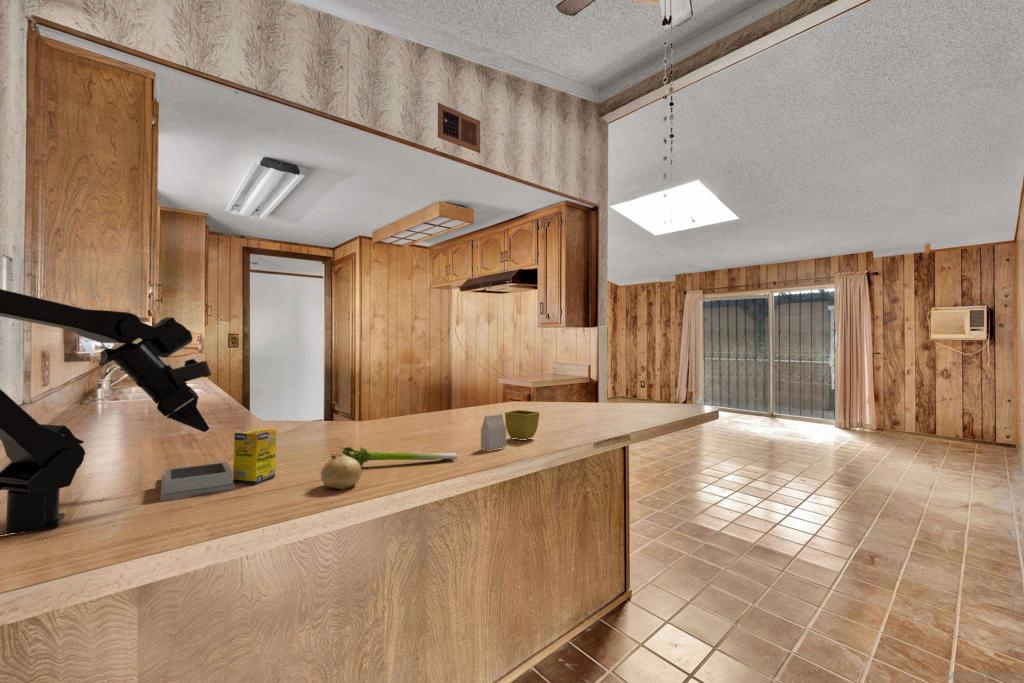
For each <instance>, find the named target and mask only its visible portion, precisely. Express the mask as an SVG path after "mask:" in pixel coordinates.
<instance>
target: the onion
mask: <svg viewBox="0 0 1024 683" xmlns="http://www.w3.org/2000/svg"><path fill="white" fill-rule="evenodd" d="M340 453H341V454H340ZM340 453H334V454H333V453H330V455H331V456H330V458H331V459H330V460H328V461H327V462H326V463H325V465H324V466H323V467H322V469H321V472H320V477H321V481H322V483H323V484H324V486H326V487H327V488H332V489H336V490H346V489H350V488H351V487H353V486H355V485H356V484H357V483H358V481H359V480H361V477H362V474H363V473H362V467H360V464H359V463H358V462H357V461H356V460H355V459H353V458H351V457H349V456H346V455H344V454H343V452H340Z"/></svg>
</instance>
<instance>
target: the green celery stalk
mask: <svg viewBox="0 0 1024 683" xmlns="http://www.w3.org/2000/svg"><path fill="white" fill-rule="evenodd" d="M358 448H359V450H355V449H353V447H352V446H347V447H341V446H339V449H340V450H342V451H341V452H340V453H339V454H341V453H343V454H344V455H346V456H349V457H351V458H353V459H355V460H356V461H357V462H358V463H359V464H360V467H361V468H363V465H364V463H368V461H392V460H393V461H397V460H398V461H402V460H403V461H405V460H406V461H410V460H411V461H417V460H419V461H421V460H422V461H423V460H424V461H429V460H430V461H433V460H434V461H438V460H437V459H449V460H458V455H457V453H456V452H437V453H436V452H423V453H422V452H378V451H377V452H373V451H372V452H371V451H368V450H367V448H364V447H362V446H359V447H358Z"/></svg>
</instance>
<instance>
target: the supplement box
mask: <svg viewBox="0 0 1024 683" xmlns="http://www.w3.org/2000/svg"><path fill="white" fill-rule="evenodd" d="M233 437H234V440H233V442H234V443H233V471H232V472H233V473H232V479H233V481H234V483H235V484H241V483H245V484H244V485H253V484H256V485H258V484H260V482H261V483H263V482H266V481H269V480H272V479H275V478H276V464H277V463H276V460H277V458H276V457H277V455H276V454H277V429H274V428H273V429H272V428H253V429H248V430H243V431H237V432H234V436H233ZM274 477H275V478H274ZM271 478H272V479H271Z"/></svg>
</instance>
